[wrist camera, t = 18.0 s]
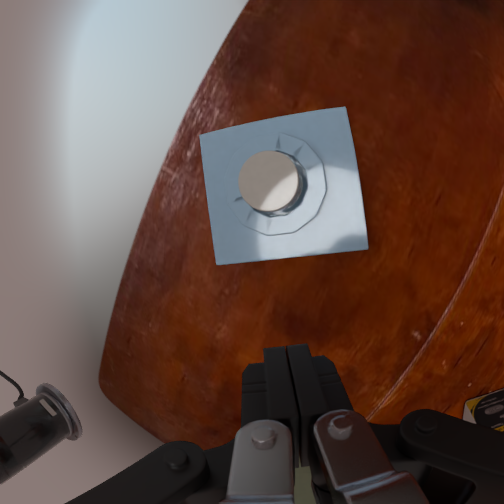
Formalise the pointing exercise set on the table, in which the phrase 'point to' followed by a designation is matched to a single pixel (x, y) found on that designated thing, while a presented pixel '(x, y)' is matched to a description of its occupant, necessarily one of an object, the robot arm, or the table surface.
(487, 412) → the medicine bottle
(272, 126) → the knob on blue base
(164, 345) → the table surface
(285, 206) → the short grey cylinder plug
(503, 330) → the table surface
